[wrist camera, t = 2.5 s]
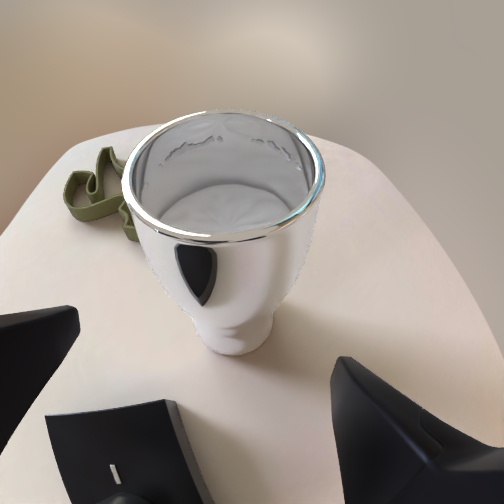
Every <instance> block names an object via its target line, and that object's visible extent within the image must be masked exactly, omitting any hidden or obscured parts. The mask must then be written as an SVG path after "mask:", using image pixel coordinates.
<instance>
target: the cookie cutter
mask: <svg viewBox="0 0 504 504" xmlns="http://www.w3.org/2000/svg"><path fill="white" fill-rule="evenodd" d="M109 160H112V163H113V165H114V168H115V170H116V173H117V174H118V176H119V177H120V178H121V179H122V174H123V170H124V168H123V167H121V166H119V165H118V164H117V163H116V156H115V154H114V151H113V148H112V146H111V147H104V148H102V149H101V151H100V153H99V155H98V158H97V163H96V177H95V175H94V173H93V172H90V171H73V172H72V174H71V175H70V177H69V179H68V181H67V183H66V185H65V188H64V193H63V198H64V202H65V204H66V205H67V207H68V209H69V210H70V212H71V213H72V215H73V216H74V218H76V219H77V220H79V221H93V220H97V219H100V218H102V217H105V216H108V215H110V214H112V213H115V212H117V211H119V212H120V214H121V216H122V218H123V220H124V222H125V223H124V224H123V226H122V228H123V229H124V231H125V233H126V235H127V237H128V239H129V240H133V241H138V242H140V241H139V238H138V235H137V232H136V229H135V226H133V224H132V222H131V220H130V218H129V217H130V216H131V213H130V210H129V207H128V206H127V204H126V202H125V199H124V196H123V194H118V195H115V196H112V197H109V198H107V199H105V200H104V189H103V174H104V169H105V166H106V163H107V161H109ZM80 184H86V193H87V194H88V196H89V198H90V200H91V202H92V205H89V206H85V207H73V206H72V202H73V197H74V194H75V192H76V190H77V188H78V186H79V185H80Z"/></svg>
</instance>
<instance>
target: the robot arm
mask: <svg viewBox="0 0 504 504" xmlns="http://www.w3.org/2000/svg"><path fill="white" fill-rule="evenodd" d="M79 334H80V322H79V315H78V310H77V309H76V308H75V307H72V306H69V305H65V306H59V307H53V308H46V309H40V310H33V311H26V312H20V313H13V314H6V315H0V455H1V453H2V451H3V450H4V448H5V446H6V445H7V443H8V441H9V439H10V438H11V436H12V434H13V433H14V431H15V429H16V428H17V426H18V425H19V423H20V422H21V420H22V419H23V417H24V415H25V414H26V412H27V411H28V409H29V408H30V406H31V405H32V404H33V402H34V401H35V399H36V398H37V396H38V395H39V393H40V392H41V391H42V389H43V388H44V386H45V385H46V384H47V382H48V381H49V379H50V378H51V377H52V375H53V374H54V373H55V371H56V370H57V369H58V367H59V366H60V364H61V363H62V361H63V360H64V358H65V357H66V355H67V353H68V352H69V350H70V348H71V347H72V345H73V344H74V342H75V340H76V339H77V337H78V336H79ZM330 388H331V406H332V422H333V429H334V435H335V441H336V447H337V453H338V459H339V465H340V472H341V479H342V485H343V493H344V500H345V504H504V448H497V447H491V446H488V445H486V444H483V443H481V442H480V441H478V440H476V439H474V438H472V437H470V436H468V435H466V434H464V433H463V432H461V431H459V430H457V429H455V428H453V427H452V426H450V425H448V424H446V423H445V422H443V421H442V420H440V419H438V418H437V417H435V416H434V415H432V414H431V413H429V412H428V411H426V410H425V409H422V407H421V406H419V405H418V404H416V403H415V402H413V401H412V400H411V399H409V398H408V397H406V396H405V395H403V394H402V393H401V392H399V391H398V390H396V389H395V388H393V387H392V386H391V385H389V384H388V383H386V382H385V381H384V380H382V379H381V378H379V377H378V376H377V375H375V374H374V373H372V372H371V371H370V370H368V369H367V368H366V367H364V366H363V365H361V364H360V363H359V362H357V361H356V360H354V359H353V358H352V357H346V356H340V357H338V358H337V360H336V363H335V366H334V369H333V372H332V375H331V380H330Z"/></svg>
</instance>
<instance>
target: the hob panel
mask: <svg viewBox="0 0 504 504" xmlns="http://www.w3.org/2000/svg"><path fill="white" fill-rule="evenodd" d="M45 420H46V425H47V429H48V433H49V437H50V441H51V445H52V449H53V452H54V456H55V459H56V462H57V465H58V468H59V471H60V474H61V477H62V480H63V483H64V486H65V488H66V491H67V493H68V496H69V498H70V501H71V503H72V504H97V503H99V502H101V501H103V500H105V499H107V498H109V497H111V496H113V495H115V494H118V493H130V494H134V495H137V496H140V497H142V498H144V499H146V500H147V501H149V502H150V503H151V504H214V502H213V500H212V498H211V495H210V493H209V491H208V489H207V486H206V484H205V482H204V479H203V477H202V475H201V472H200V470H199V467H198V465H197V462H196V460H195V457H194V455H193V452H192V449H191V447H190V444H189V441H188V438H187V436H186V433H185V430H184V427H183V424H182V421H181V418H180V415H179V412H178V409H177V406H176V402H175V401H172V400H166V399H162V400H157V401H152V402H147V403H142V404H137V405H131V406H125V407H119V408H113V409H106V410H98V411H90V412H81V413H71V414H59V415H45Z"/></svg>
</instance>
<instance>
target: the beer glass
mask: <svg viewBox="0 0 504 504" xmlns="http://www.w3.org/2000/svg"><path fill="white" fill-rule="evenodd" d="M325 177H326V175H325V165H324V161H323V159H322V156H321V154H320V152H319V150H318V149H317V147H316V146H315V144H314V143H313V142H312V141H311V140H310V138H309V137H307V136H306V135H305V134H304V133H303V132H302V131H300V130H299V129H297V128H296V127H294V126H293V125H291V124H289V123H287V122H286V121H283V120H281V119H279V118H276V117H273V116H271V115H267V114H264V113H259V112H254V111H249V110H240V109H218V110H208V111H202V112H198V113H193V114H189V115H186V116H183V117H180V118H178V119H175V120H173V121H171V122H169V123H166V124H164V125H163V126H161V127H159V128H158V129H156V130H154V131H153V132H152V133H150V134H149V135H148V136H146V137H145V138H144V139H143V140H142V141H141V142H140V143H139V144H138V145H137V146H136V148H135V149H134V150H133V152H132V153H131V155H130V156H129V158H128V160H127V162H126V164H125V167H124V170H123V174H122V192H123V196H124V199H125V202H126V204H127V206H128V207H129V210H130V213H131V216H132V220H133V223H134V226H135V229H136V232H137V235H138V238H139V241H140V243H141V246H142V249H143V251H144V254H145V256H146V258H147V260H148V262H149V265H150V267H151V269H152V271H153V273H154V275H155V276H156V278H157V280H158V281H159V283H160V284H161V286H162V287H163V289H164V290H165V292H166V293H167V295H168V296H169V297H170V298H171V299H172V300H173V301H174V302H175V303H176V304H177V305H178V306H179V307H180V308H181V309H182V310H183V311H184V312H185V313H186V314H188V315H189V316H190V317H192V318H193V325H194V328H195V331H196V333H197V335H198V337H199V339H200V340H201V341H202V342H203V343H204V344H205V345H206V346H207V347H208V348H210V349H211V350H213V351H215V352H218V353H220V354H224V355H242V354H246V353H248V352H251V351H253V350H255V349H256V348H258V347H259V346H260V345H261V344H262V343H263V342H264V341H265V340H266V338H267V337H268V335H269V333H270V331H271V328H272V323H273V312H274V311H275V309H276V308H277V307H278V306H279V305H280V304H281V303H282V302H283V300H284V299H285V298H286V296H287V295H288V293H289V292H290V291H291V289H292V288H293V286H294V284H295V282H296V280H297V278H298V276H299V274H300V272H301V269H302V267H303V265H304V262H305V259H306V256H307V253H308V250H309V247H310V244H311V240H312V236H313V232H314V227H315V223H316V218H317V213H318V207H319V202H320V197H321V194H322V191H323V188H324V185H325Z"/></svg>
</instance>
